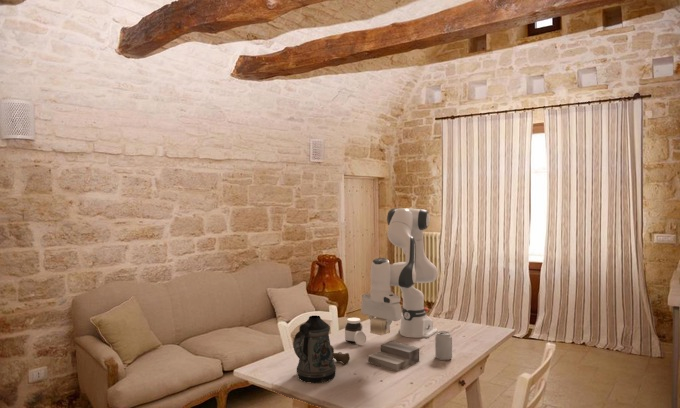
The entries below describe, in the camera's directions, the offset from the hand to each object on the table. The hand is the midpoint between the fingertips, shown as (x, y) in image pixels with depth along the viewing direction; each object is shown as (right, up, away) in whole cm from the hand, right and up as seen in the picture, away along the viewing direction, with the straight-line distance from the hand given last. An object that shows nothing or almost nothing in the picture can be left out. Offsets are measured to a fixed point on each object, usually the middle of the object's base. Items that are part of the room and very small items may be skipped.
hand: (380, 327), depth 208 cm
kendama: (-22, -18, +11) cm, 31 cm away
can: (+30, -18, +12) cm, 37 cm away
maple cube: (+2, +1, +2) cm, 3 cm away
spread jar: (-9, -17, +36) cm, 41 cm away
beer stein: (-28, -18, -10) cm, 35 cm away
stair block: (+7, -17, +8) cm, 20 cm away
